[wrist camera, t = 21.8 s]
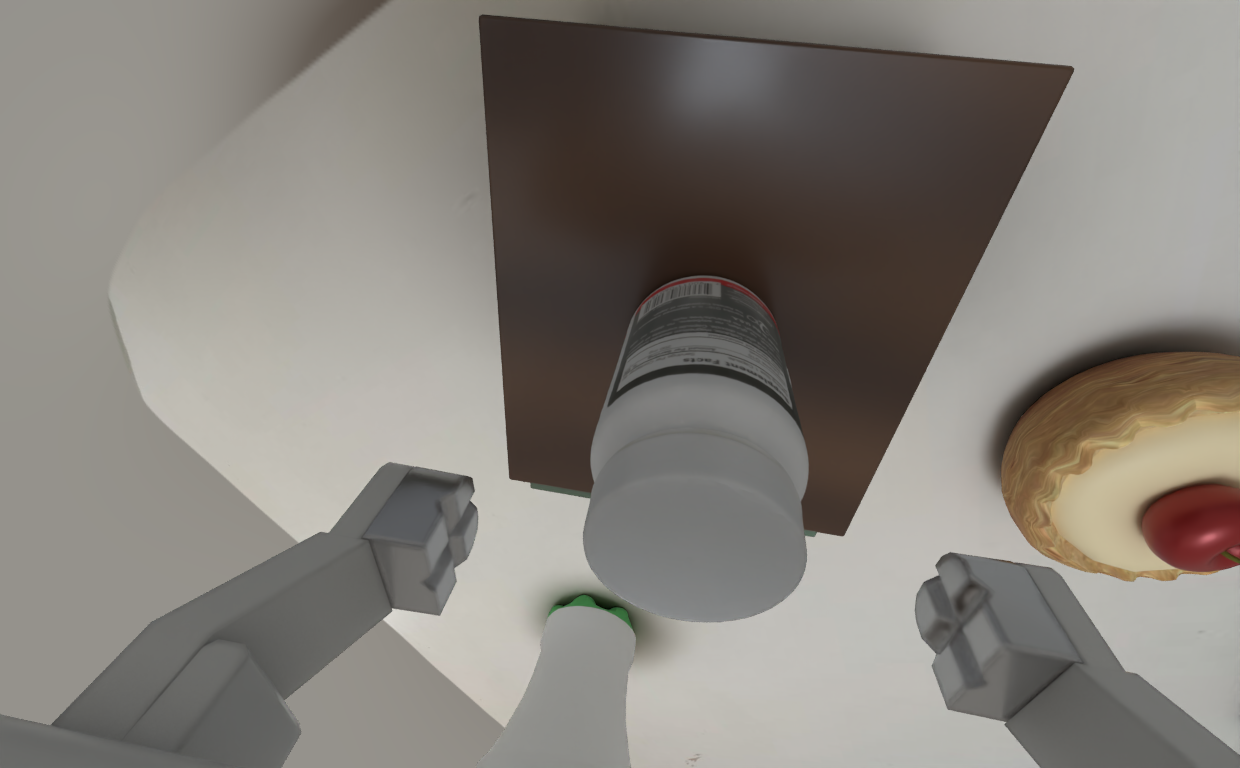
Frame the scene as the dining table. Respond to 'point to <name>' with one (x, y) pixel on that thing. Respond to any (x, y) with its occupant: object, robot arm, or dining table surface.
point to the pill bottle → (699, 459)
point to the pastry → (1133, 467)
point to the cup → (573, 694)
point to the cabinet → (741, 217)
